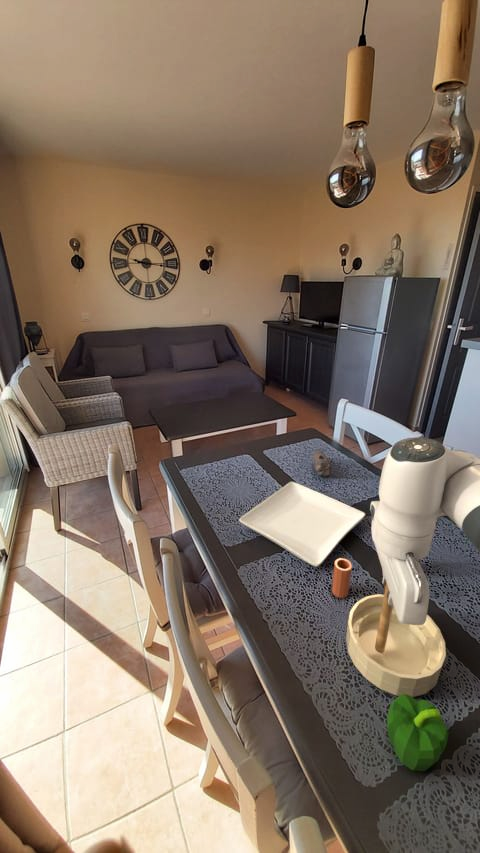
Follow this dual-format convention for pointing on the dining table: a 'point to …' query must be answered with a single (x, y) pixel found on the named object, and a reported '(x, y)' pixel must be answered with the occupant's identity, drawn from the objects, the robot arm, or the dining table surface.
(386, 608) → the stirring stick
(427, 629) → the bowl
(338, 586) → the stick holder
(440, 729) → the bell pepper
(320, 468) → the perforated stone tool
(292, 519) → the square plate
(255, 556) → the dining table surface
